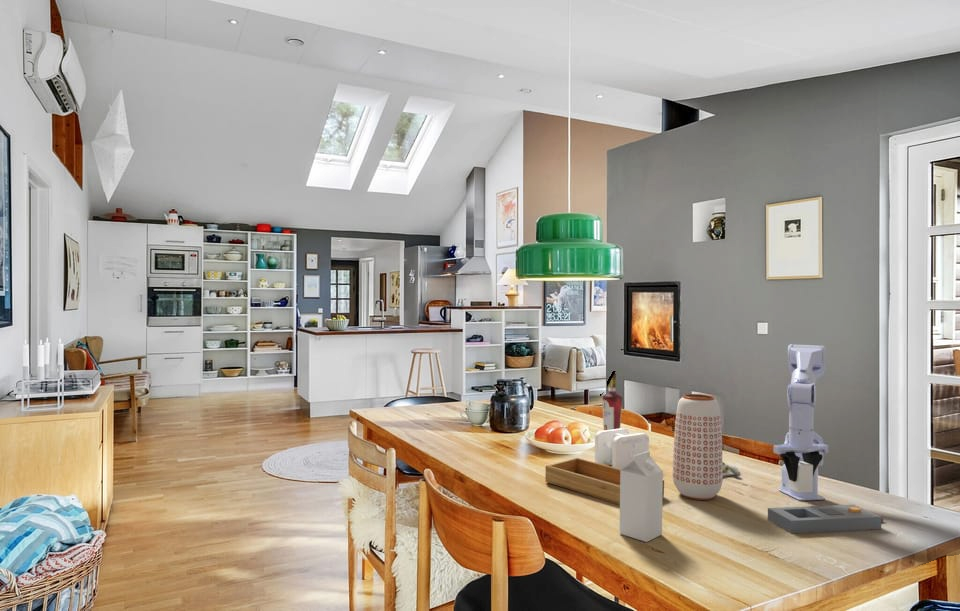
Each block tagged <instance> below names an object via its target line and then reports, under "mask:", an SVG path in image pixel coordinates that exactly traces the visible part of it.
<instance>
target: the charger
mask: <svg viewBox="0 0 960 611" xmlns="http://www.w3.org/2000/svg"><path fill="white" fill-rule="evenodd" d="M789 488H790V489H792V490H795V491H797V492H813V465H811V464H809V463H806V462H804V461H799V464H798V469H797V480H796V482H793V481H791V480H789Z"/></svg>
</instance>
